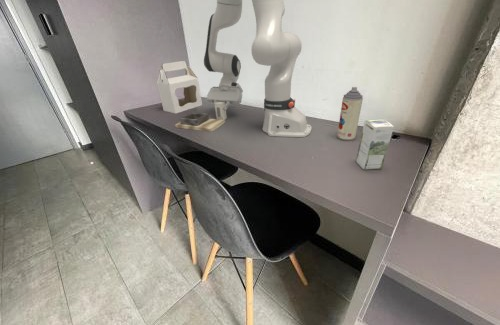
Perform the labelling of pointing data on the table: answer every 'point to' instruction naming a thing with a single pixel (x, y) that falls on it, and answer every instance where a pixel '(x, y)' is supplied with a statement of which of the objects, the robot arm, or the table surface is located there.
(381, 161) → the syrup box
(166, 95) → the gable box
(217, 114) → the plug block
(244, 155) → the table surface
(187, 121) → the dock board
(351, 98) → the aerosol can
